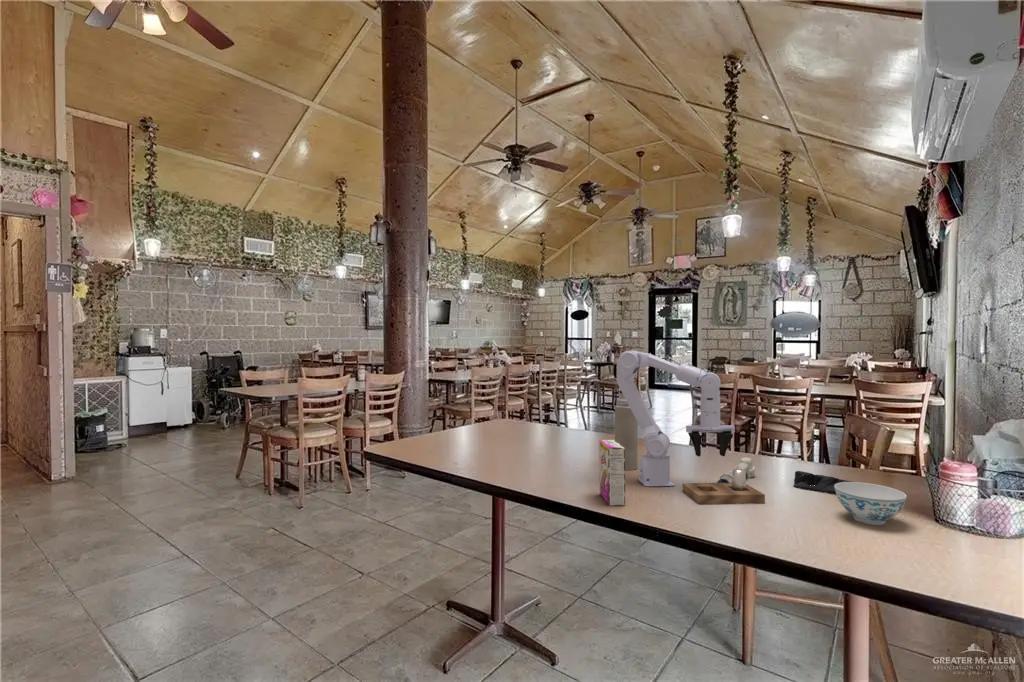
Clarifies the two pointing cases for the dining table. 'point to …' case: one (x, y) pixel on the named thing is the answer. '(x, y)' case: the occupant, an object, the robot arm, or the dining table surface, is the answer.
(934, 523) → the dining table surface
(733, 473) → the steel pin
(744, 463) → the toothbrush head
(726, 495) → the wooden holder tray
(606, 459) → the candy bar box
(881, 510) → the chinaware
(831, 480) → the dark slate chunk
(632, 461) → the thermos bottle
